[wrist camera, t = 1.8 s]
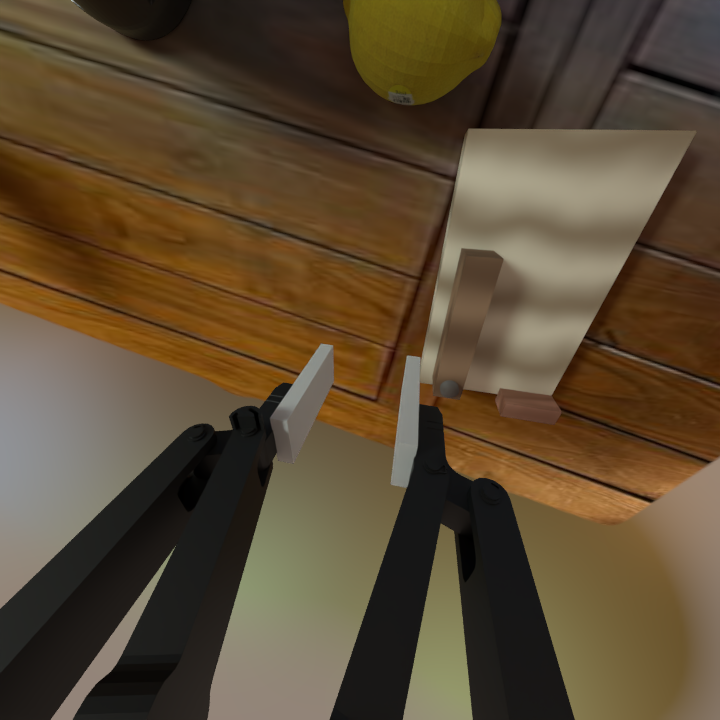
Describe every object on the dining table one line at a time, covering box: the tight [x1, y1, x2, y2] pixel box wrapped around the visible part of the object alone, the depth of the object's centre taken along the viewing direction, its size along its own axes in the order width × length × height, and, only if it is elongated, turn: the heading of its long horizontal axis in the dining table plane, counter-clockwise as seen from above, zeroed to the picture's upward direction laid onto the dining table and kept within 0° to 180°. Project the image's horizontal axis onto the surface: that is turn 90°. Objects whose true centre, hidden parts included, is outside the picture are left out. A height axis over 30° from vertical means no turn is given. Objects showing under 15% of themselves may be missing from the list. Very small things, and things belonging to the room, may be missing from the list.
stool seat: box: [420, 129, 697, 425], centre depth 28 cm, size 27×16×6 cm, turn 178°
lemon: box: [343, 0, 502, 105], centre depth 19 cm, size 11×8×8 cm
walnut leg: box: [432, 248, 504, 400], centre depth 28 cm, size 16×3×5 cm, turn 178°
